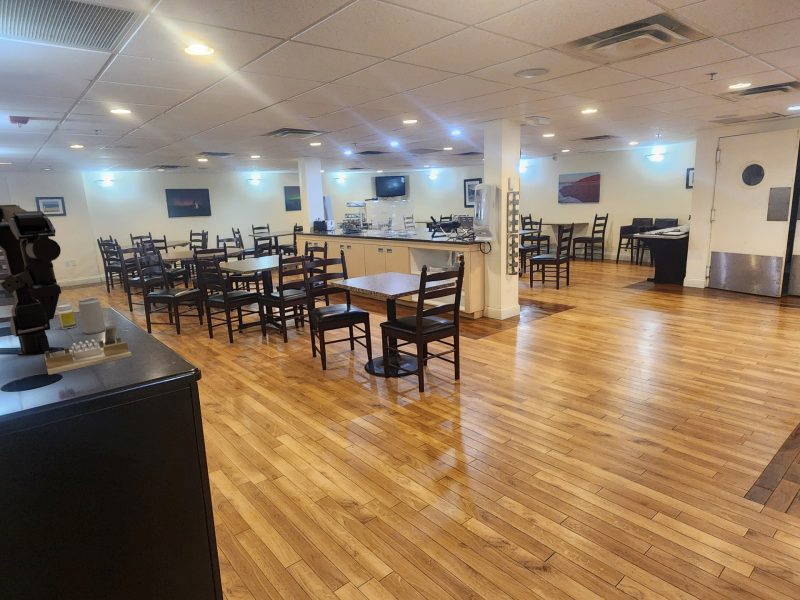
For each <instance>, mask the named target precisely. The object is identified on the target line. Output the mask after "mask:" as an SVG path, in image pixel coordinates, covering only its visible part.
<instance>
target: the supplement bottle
mask: <svg viewBox="0 0 800 600" xmlns="http://www.w3.org/2000/svg"><path fill="white" fill-rule="evenodd" d="M57 310H58V312H57V317H58V320H59V321H58V322H59V325H60V329H61V330H68V329H67V328H71V329H74V328H77V322H76V318H75V313H74V309H72V305H71V304H62V305H57ZM73 327H74V328H73Z"/></svg>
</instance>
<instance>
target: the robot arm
mask: <svg viewBox="0 0 800 600" xmlns="http://www.w3.org/2000/svg"><path fill="white" fill-rule="evenodd" d="M51 221H52V220H51V219H49V217H48V215H46V214H45V213H44V212H43V211H42V210H32V211H30V210H29V211H28V210H26V209H24V208H22V207H20V205H17V204H3V205H1V204H0V251H1V252H2V254H3V257H4V262H5V265H6V270H7V274H8V275H6V276H4V277H3V280H2V281H0V286H1V287H2V288H3V289H2V290H4V291H5V293H6V294H7V295H10V294H12V293H13V296H14V304H13V305H12V307H11V310H10V312H11V316H10V332H11V334H12V336H13V337H18V341H19V345H20V349H21V352H18V353H17V356H31V355H39V354H42V353H45V352H46V351H49V350H52V349H54V346H50V343H49V339H48V335H47V333H46V331H50V330H51V324H50V323H51V322H50V321H51V320H53V319H54V318H55V316H56V315H55V314H56V310H57V307H58V303H59V299H60V295H61V294H62V289H61V285H59V284H58V282H57V278H56V274H55V271H54V270H55V269H54V263H53V261H55V260H57V259H58V258H59V257H60V255H61V250H62V248H61V245H59V243H58V242H57V241H56V240H54V239H52V238H53V237H56V228H55V227H54V224H53V223H52V222H51ZM50 237H52V238H50ZM54 320H55V319H54Z"/></svg>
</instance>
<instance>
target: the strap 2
mask: <svg viewBox="0 0 800 600" xmlns="http://www.w3.org/2000/svg"><path fill="white" fill-rule="evenodd" d="M116 333H117V326H116V324H113V325H107V326H106V325H105V329H104V341H103V343H105V345H110V344H115V343H116V335H117V334H116Z"/></svg>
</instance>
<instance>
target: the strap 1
mask: <svg viewBox="0 0 800 600" xmlns="http://www.w3.org/2000/svg"><path fill="white" fill-rule="evenodd" d="M63 351H64V350H58V351H54V352H51V353H50V354H51V355H52V356H53V357H54V356H59V355H64V352H63Z"/></svg>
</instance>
